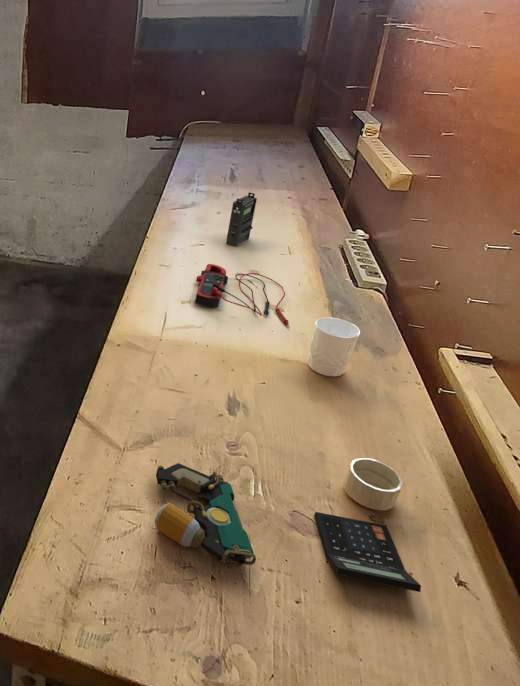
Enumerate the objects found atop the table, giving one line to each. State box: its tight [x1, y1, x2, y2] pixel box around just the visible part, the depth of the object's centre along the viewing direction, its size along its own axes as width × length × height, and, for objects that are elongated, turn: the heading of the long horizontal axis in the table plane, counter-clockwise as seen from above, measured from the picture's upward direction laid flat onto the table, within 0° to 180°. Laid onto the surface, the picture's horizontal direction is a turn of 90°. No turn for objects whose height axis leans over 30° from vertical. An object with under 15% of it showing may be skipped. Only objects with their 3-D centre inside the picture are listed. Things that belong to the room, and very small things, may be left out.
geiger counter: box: [225, 191, 258, 247], centre depth 175 cm, size 10×4×15 cm, turn 132°
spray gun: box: [154, 462, 257, 566], centre depth 85 cm, size 4×17×15 cm
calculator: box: [313, 511, 422, 593], centre depth 78 cm, size 9×12×3 cm
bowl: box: [343, 457, 404, 511], centre depth 88 cm, size 7×7×4 cm
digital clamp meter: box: [194, 263, 291, 328], centre depth 146 cm, size 23×4×25 cm
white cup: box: [307, 316, 361, 377], centre depth 116 cm, size 8×8×10 cm
